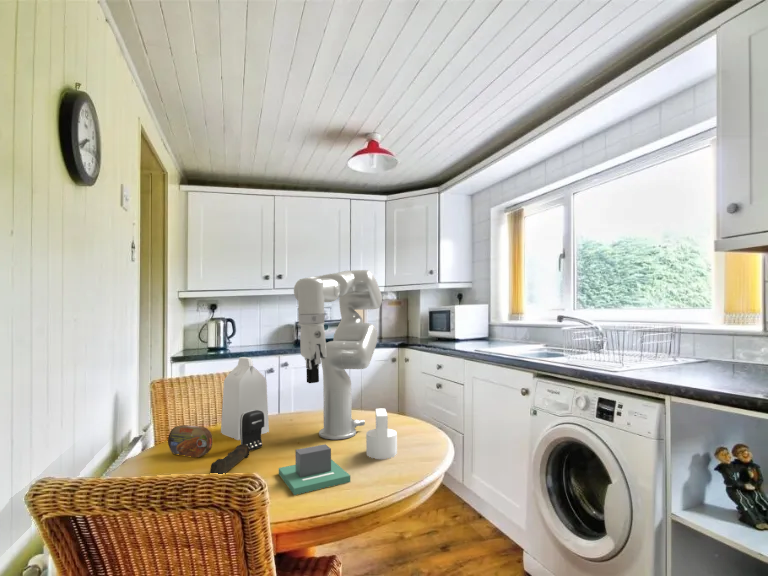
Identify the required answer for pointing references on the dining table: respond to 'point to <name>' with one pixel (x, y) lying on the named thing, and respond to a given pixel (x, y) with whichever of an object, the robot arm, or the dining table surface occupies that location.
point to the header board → (313, 478)
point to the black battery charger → (251, 429)
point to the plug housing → (313, 460)
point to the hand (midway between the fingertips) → (312, 382)
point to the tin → (190, 440)
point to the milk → (243, 397)
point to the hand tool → (230, 460)
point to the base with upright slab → (381, 438)
